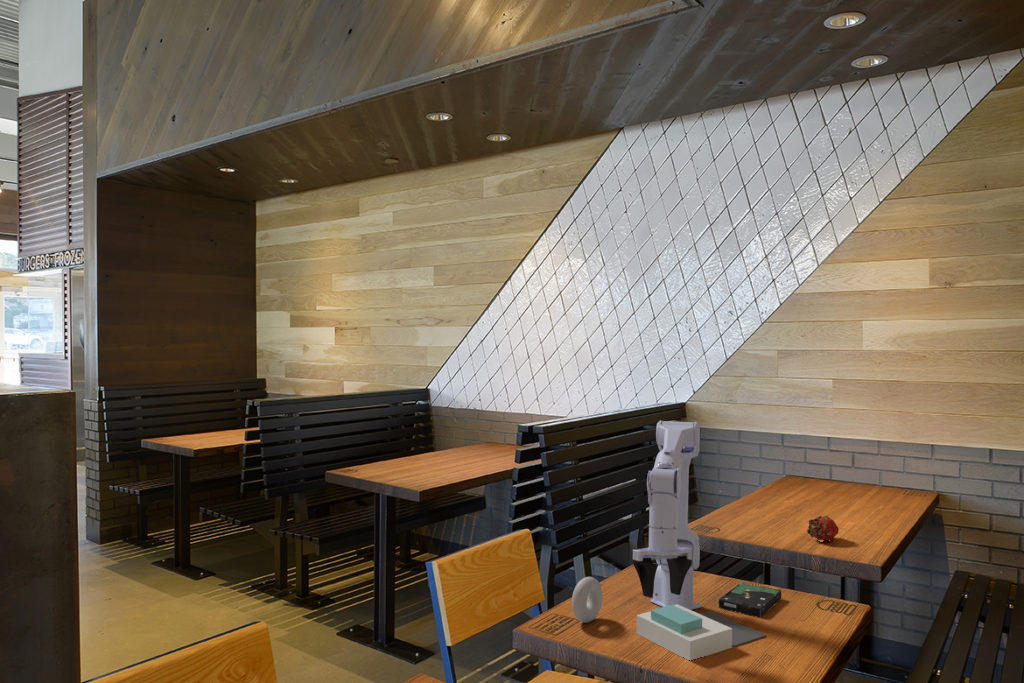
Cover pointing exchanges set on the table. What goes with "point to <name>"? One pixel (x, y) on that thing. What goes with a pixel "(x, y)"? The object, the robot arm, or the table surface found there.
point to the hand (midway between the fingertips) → (661, 595)
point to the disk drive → (750, 599)
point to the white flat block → (687, 636)
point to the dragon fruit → (823, 528)
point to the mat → (736, 629)
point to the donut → (580, 605)
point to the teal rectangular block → (676, 619)
